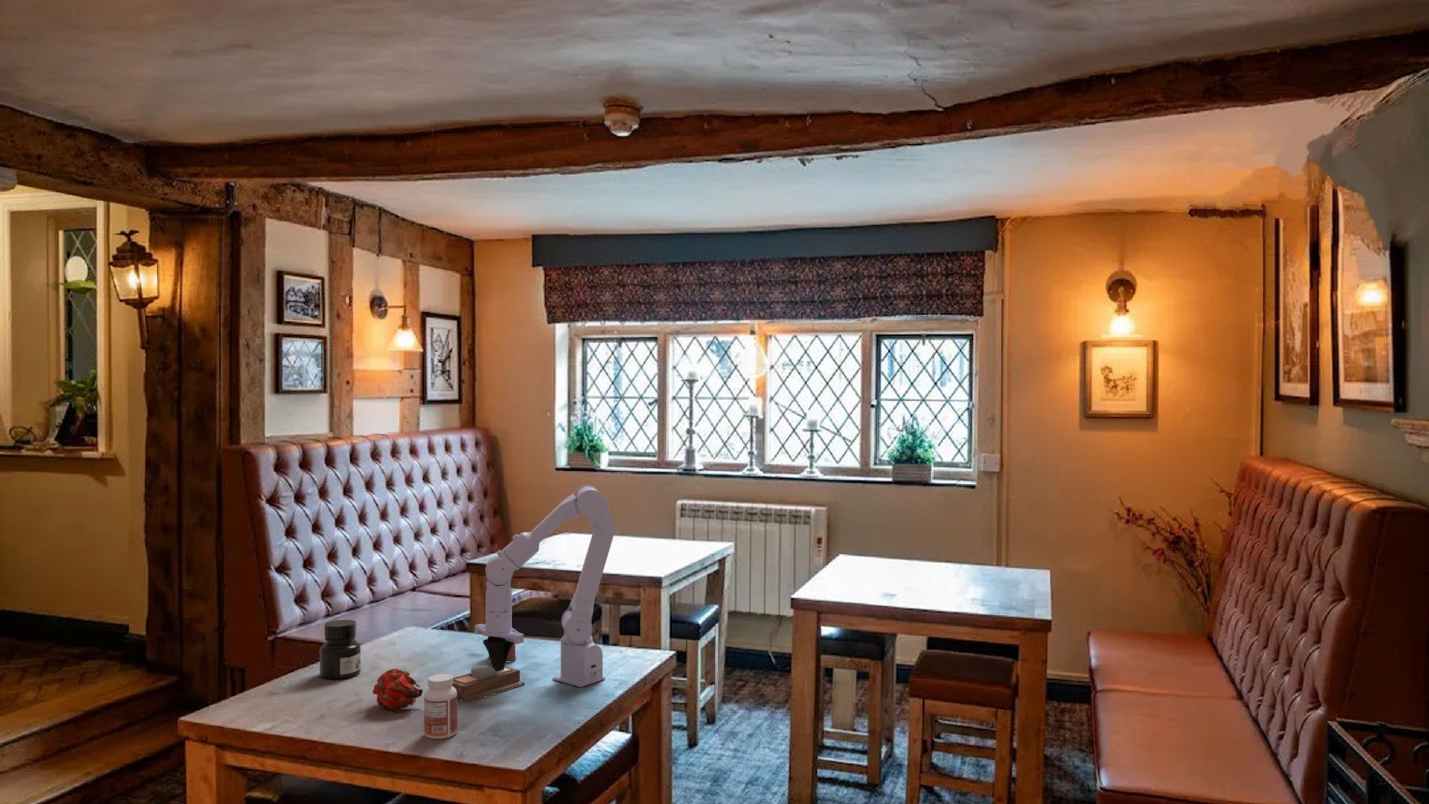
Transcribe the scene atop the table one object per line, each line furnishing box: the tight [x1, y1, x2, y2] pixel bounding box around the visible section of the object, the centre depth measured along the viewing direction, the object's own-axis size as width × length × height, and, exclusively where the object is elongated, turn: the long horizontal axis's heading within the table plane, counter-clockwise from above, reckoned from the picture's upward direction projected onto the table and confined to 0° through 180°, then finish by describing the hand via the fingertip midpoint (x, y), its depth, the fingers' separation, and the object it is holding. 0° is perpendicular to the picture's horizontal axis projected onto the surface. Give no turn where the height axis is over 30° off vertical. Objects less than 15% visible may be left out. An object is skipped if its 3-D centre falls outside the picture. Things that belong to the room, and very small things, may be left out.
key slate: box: [470, 665, 495, 681], centre depth 218 cm, size 4×4×2 cm
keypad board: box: [452, 665, 525, 703], centre depth 218 cm, size 10×15×3 cm, turn 142°
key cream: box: [495, 668, 510, 676], centre depth 221 cm, size 4×4×2 cm
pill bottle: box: [423, 673, 458, 740], centre depth 190 cm, size 6×6×11 cm
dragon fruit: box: [372, 668, 424, 712], centre depth 205 cm, size 8×8×12 cm
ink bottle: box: [319, 619, 362, 680], centre depth 228 cm, size 10×9×12 cm
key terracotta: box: [454, 676, 478, 685], centre depth 214 cm, size 4×4×2 cm
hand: (498, 670), depth 221 cm, fingers closed, pressing on key cream
